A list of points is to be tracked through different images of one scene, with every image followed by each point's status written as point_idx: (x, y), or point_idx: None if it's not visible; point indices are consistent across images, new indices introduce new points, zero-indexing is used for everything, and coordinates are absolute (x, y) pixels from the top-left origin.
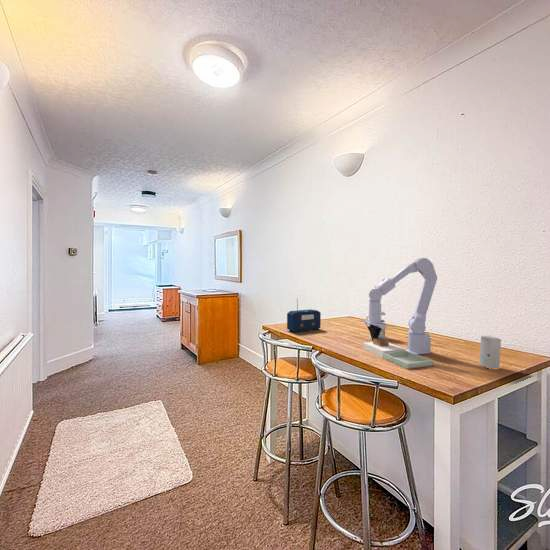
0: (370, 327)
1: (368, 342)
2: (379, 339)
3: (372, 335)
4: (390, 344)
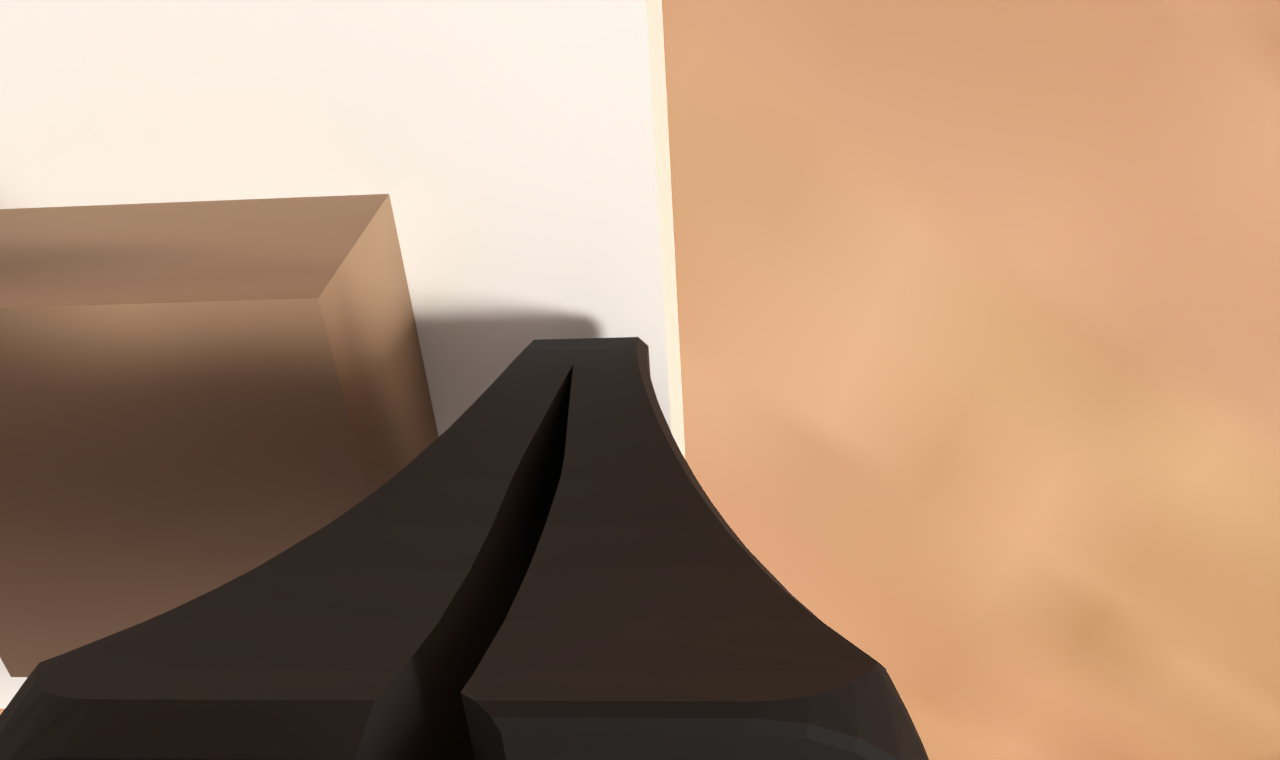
0: (312, 722)
1: (627, 131)
2: (129, 463)
3: (504, 447)
4: None
